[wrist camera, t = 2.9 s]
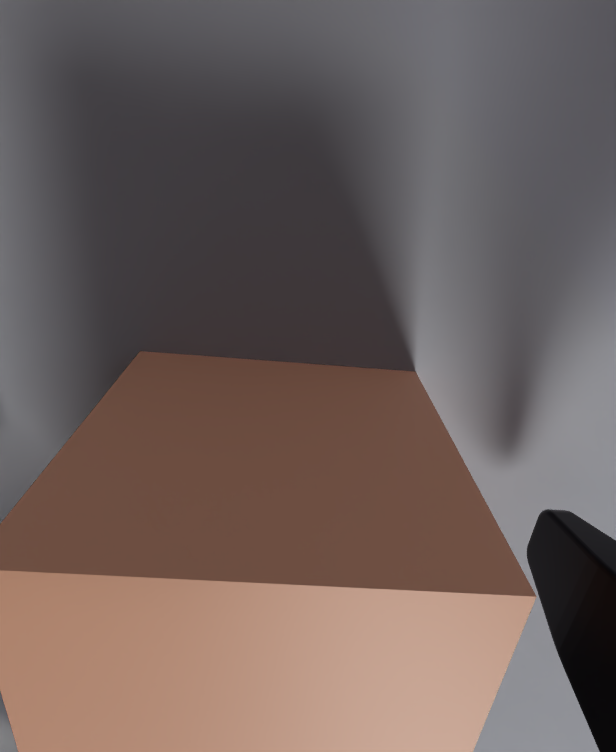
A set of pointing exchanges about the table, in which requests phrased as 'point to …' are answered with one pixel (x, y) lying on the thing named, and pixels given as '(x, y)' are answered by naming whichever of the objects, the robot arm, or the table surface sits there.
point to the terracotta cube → (256, 570)
